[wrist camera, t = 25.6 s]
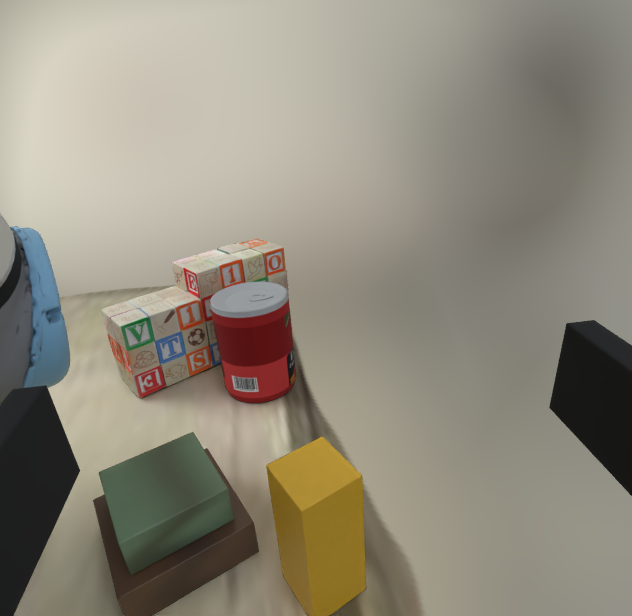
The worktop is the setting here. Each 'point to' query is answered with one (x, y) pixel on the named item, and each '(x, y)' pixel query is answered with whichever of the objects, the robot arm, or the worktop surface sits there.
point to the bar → (319, 526)
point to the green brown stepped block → (170, 525)
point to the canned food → (254, 340)
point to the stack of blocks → (184, 315)
